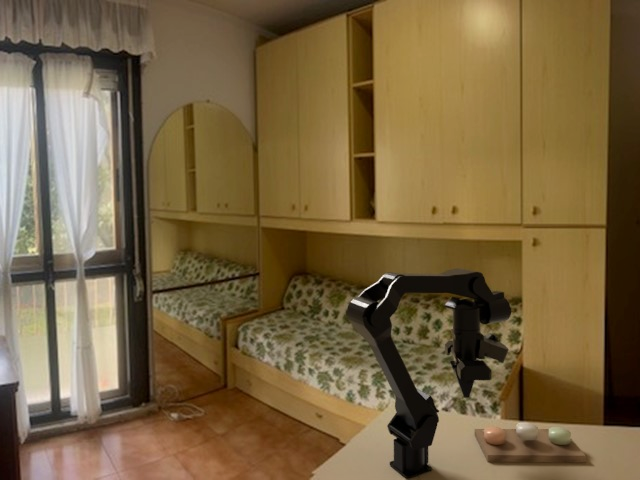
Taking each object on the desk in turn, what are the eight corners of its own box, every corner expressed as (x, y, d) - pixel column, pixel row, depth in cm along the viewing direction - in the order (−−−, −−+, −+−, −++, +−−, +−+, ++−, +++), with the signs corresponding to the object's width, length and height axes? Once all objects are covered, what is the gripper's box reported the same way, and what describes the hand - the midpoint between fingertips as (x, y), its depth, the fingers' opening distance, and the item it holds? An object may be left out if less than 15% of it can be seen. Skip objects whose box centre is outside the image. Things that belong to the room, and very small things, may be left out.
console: (487, 461, 112) (487, 454, 112) (474, 435, 124) (474, 428, 124) (585, 462, 111) (585, 454, 111) (562, 435, 123) (562, 428, 122)
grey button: (519, 440, 115) (520, 431, 115) (513, 430, 119) (513, 422, 119) (540, 440, 115) (540, 431, 114) (533, 430, 119) (533, 422, 119)
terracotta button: (486, 444, 115) (487, 435, 115) (482, 435, 120) (482, 426, 120) (507, 444, 115) (507, 435, 115) (501, 435, 120) (502, 426, 119)
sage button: (552, 444, 115) (553, 436, 114) (545, 435, 119) (545, 426, 119) (573, 444, 114) (574, 436, 114) (565, 435, 119) (565, 426, 118)
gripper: (518, 339, 105) (517, 415, 106) (493, 316, 123) (492, 381, 125) (461, 340, 105) (460, 415, 107) (444, 316, 124) (444, 381, 125)
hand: (466, 397), depth 116 cm, fingers closed
